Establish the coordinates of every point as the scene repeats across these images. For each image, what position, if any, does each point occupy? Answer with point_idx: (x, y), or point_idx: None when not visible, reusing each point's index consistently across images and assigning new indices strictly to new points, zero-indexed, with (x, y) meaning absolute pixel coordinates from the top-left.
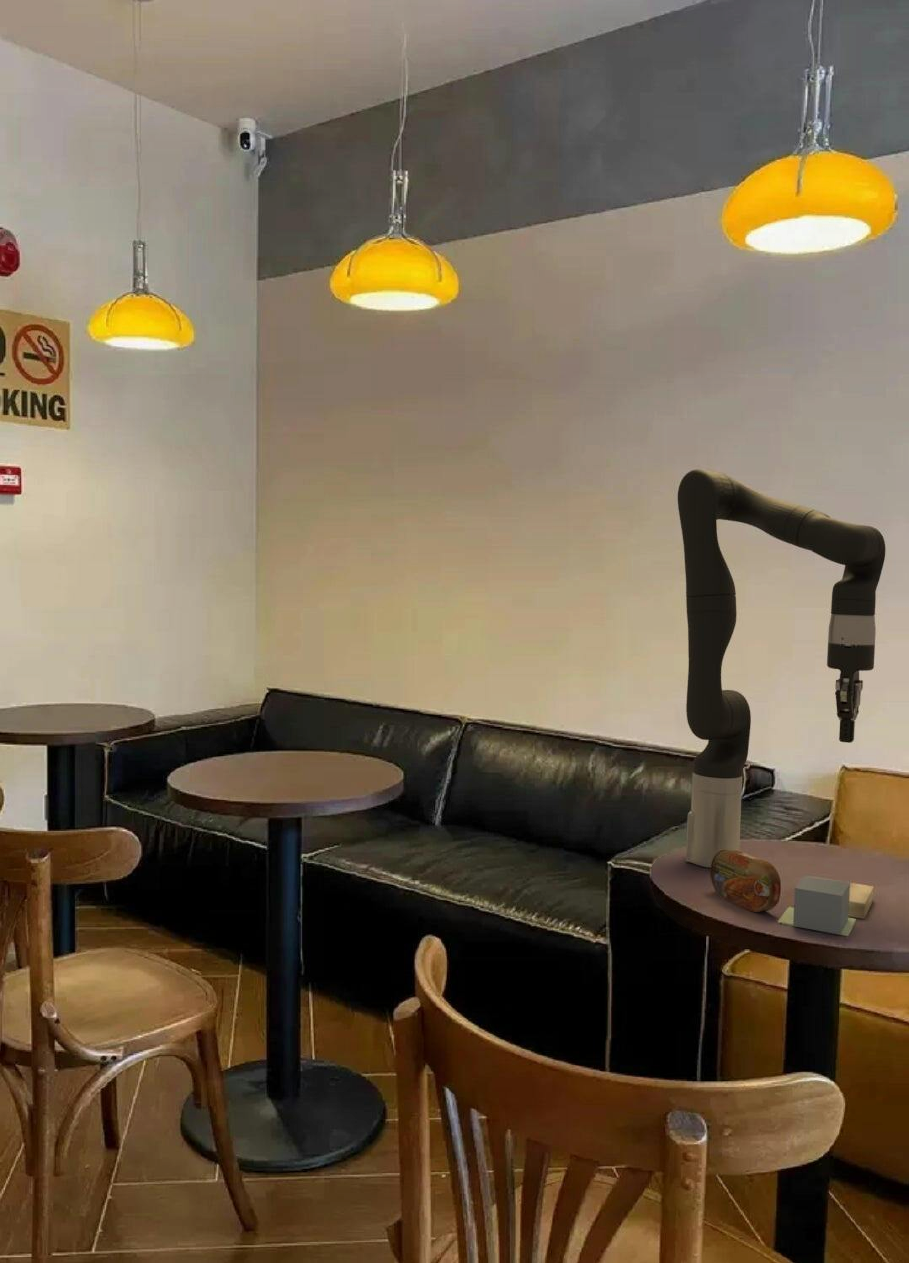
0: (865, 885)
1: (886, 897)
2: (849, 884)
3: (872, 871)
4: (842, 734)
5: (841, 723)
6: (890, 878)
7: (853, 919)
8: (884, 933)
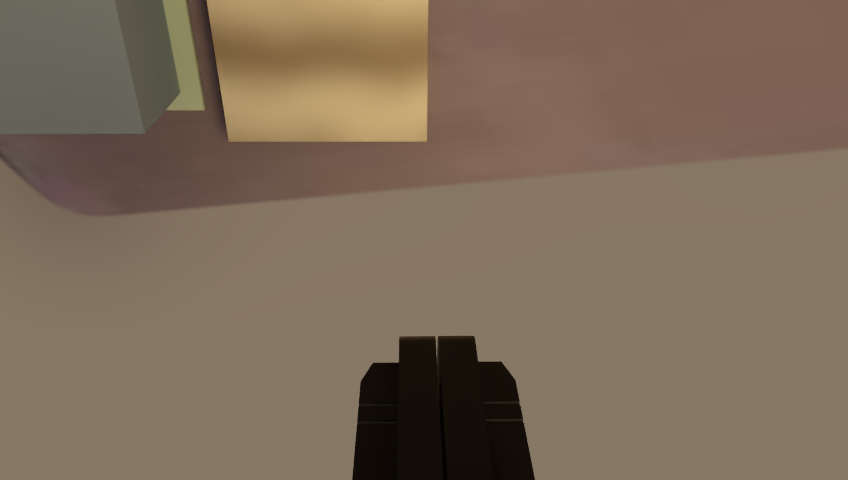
0: (423, 119)
1: (487, 150)
2: (133, 133)
3: (766, 83)
4: (362, 401)
5: (400, 468)
6: (701, 139)
7: (193, 105)
8: (159, 180)
